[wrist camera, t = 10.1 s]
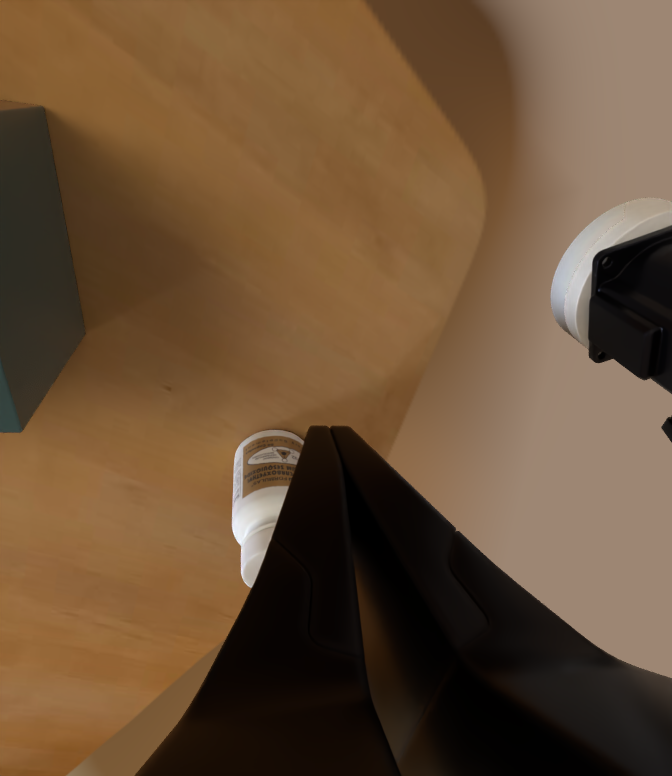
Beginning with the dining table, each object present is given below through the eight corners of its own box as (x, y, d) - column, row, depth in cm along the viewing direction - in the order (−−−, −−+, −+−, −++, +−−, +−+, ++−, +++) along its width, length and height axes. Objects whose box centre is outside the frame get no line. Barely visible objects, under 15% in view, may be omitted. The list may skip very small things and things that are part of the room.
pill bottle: (315, 429, 26) (337, 540, 20) (301, 484, 28) (317, 599, 22) (238, 423, 25) (235, 539, 19) (230, 480, 27) (225, 600, 21)
